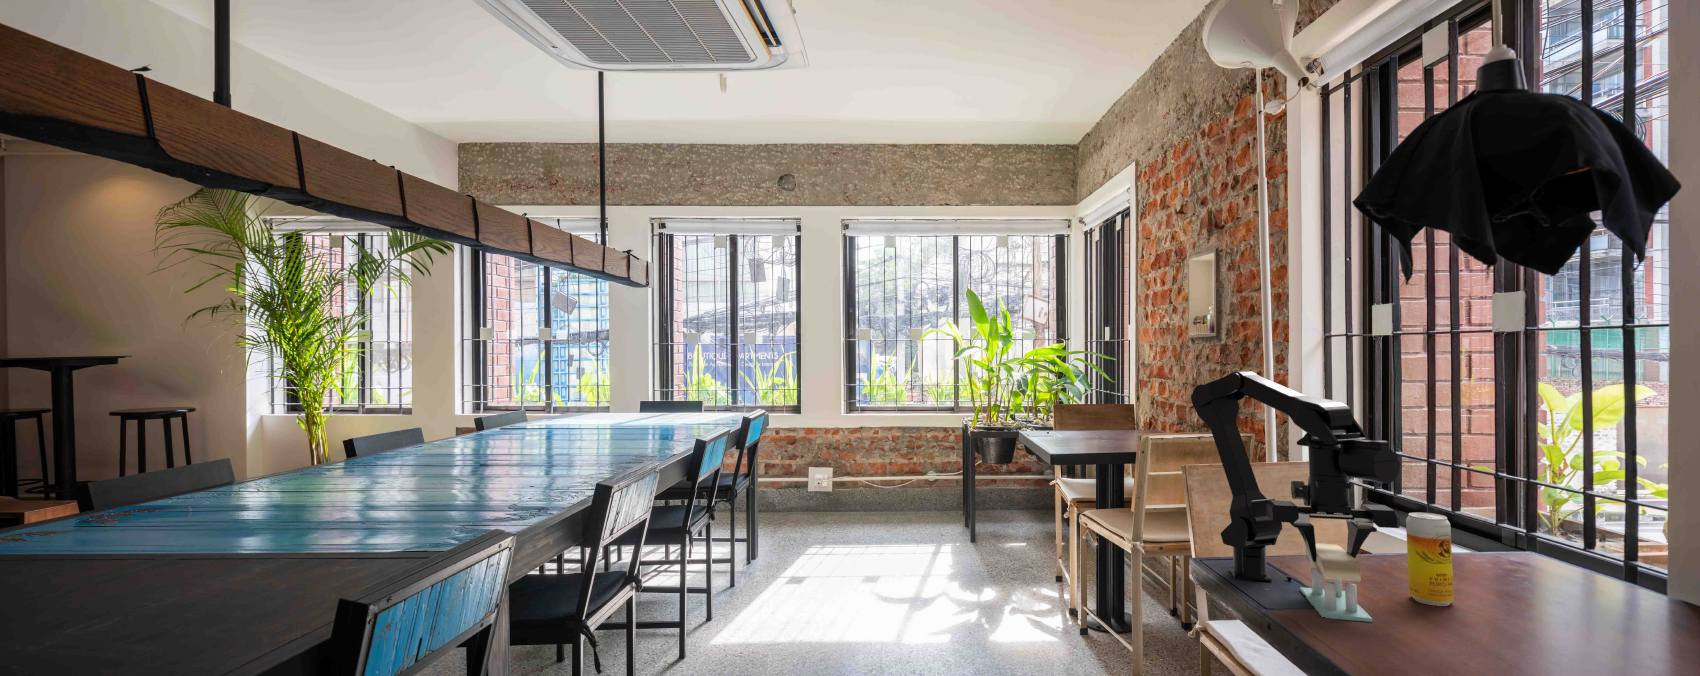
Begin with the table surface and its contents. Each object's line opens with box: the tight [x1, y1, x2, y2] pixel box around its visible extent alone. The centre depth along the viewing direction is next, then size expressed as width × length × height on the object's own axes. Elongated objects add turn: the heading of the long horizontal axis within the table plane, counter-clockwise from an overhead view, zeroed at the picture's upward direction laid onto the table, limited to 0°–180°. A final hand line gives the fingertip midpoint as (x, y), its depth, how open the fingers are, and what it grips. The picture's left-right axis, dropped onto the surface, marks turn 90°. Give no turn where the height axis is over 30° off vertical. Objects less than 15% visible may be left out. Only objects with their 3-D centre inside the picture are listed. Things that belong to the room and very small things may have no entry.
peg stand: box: [1299, 567, 1373, 623], centre depth 123 cm, size 14×7×5 cm, turn 160°
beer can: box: [1405, 511, 1454, 607], centre depth 124 cm, size 6×6×15 cm
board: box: [1305, 542, 1362, 582], centre depth 123 cm, size 12×5×3 cm, turn 160°
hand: (1331, 562), depth 123 cm, fingers closed on board, 5 cm apart
